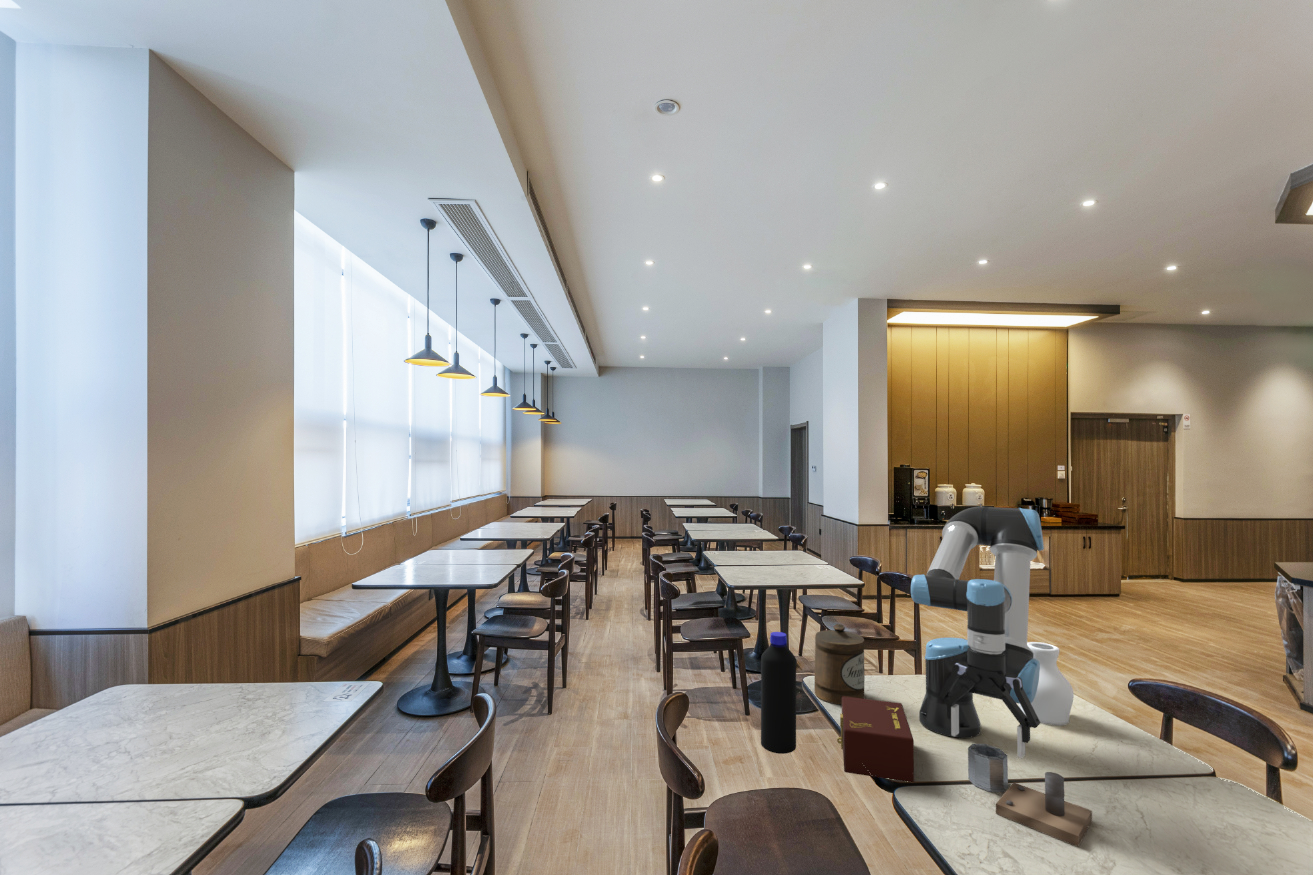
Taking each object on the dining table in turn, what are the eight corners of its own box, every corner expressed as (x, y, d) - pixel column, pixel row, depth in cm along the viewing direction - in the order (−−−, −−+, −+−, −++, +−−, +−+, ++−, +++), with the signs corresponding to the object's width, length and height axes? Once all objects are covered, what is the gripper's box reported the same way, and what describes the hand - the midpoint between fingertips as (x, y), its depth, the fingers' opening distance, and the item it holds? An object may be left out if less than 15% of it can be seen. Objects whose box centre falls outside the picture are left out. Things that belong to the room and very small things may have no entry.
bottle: (775, 757, 141) (776, 641, 142) (753, 741, 149) (754, 631, 150) (803, 749, 145) (803, 636, 146) (780, 734, 153) (780, 627, 154)
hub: (965, 782, 131) (964, 750, 131) (976, 770, 136) (975, 740, 136) (1000, 795, 125) (1000, 762, 126) (1010, 783, 130) (1010, 751, 131)
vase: (1072, 713, 168) (1070, 643, 169) (1076, 732, 156) (1074, 657, 157) (1014, 701, 176) (1013, 635, 177) (1014, 719, 164) (1013, 647, 165)
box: (836, 732, 155) (836, 694, 155) (902, 741, 150) (902, 702, 151) (838, 771, 135) (837, 728, 135) (914, 783, 130) (914, 738, 131)
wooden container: (857, 709, 169) (857, 633, 170) (808, 698, 177) (808, 625, 178) (869, 693, 181) (869, 622, 182) (822, 682, 189) (822, 615, 190)
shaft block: (995, 813, 119) (995, 768, 119) (1013, 791, 127) (1013, 749, 128) (1078, 846, 109) (1077, 798, 109) (1091, 820, 117) (1090, 775, 117)
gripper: (923, 639, 138) (923, 730, 137) (1045, 667, 120) (1047, 772, 119) (936, 634, 143) (936, 721, 142) (1055, 659, 125) (1056, 760, 124)
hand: (987, 744), depth 131 cm, fingers open, 13 cm apart
